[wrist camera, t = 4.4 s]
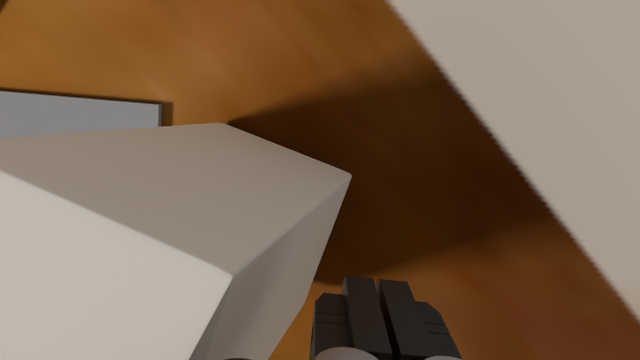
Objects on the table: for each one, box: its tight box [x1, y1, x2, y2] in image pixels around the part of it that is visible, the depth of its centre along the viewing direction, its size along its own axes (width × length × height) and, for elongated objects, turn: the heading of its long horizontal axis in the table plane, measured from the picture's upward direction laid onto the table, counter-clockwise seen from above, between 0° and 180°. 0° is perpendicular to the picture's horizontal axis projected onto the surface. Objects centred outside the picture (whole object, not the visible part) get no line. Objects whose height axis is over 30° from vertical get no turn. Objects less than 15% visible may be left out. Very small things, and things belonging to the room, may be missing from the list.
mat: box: [0, 91, 162, 138], centre depth 26 cm, size 16×10×1 cm, turn 85°
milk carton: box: [0, 123, 352, 360], centre depth 16 cm, size 7×7×19 cm
